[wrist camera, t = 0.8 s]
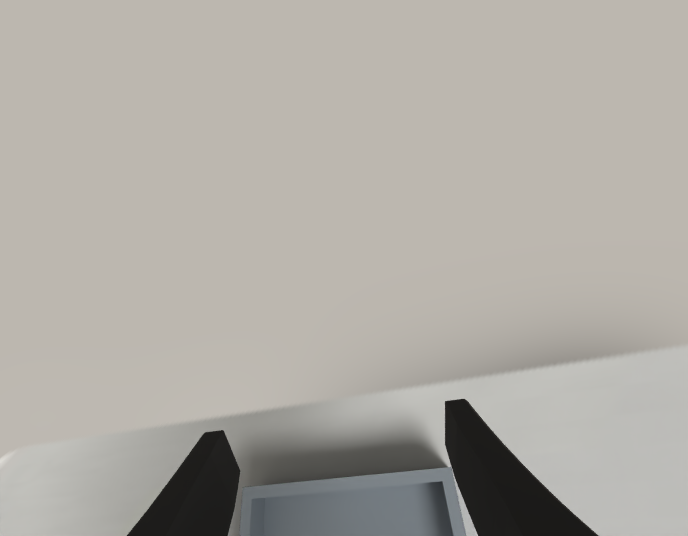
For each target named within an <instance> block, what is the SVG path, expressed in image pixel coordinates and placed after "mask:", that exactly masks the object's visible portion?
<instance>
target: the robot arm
mask: <svg viewBox="0 0 688 536" xmlns="http://www.w3.org/2000/svg"><path fill="white" fill-rule="evenodd" d="M445 445H446V449H447V452H448V456H449V459H450V463H451V466H452V469H453V472H454V476H455V479H456V482H457V484H458V487H459V489H460V492H461V494H462V497H463V499H464V502H465V504H466V507H467V509H468V512H469V514H470V517H471V519H472V522H473V524H474V527H475V529H476V531H477V534H478V536H598V535H597V534H596V533H595V532H594V531H592V530H591V529H590V528H589V527H588V526H587V525H586V524H585V523H583V522H582V521H581V520H580V519H579V518H578V517H577V516H576V515H574V514H573V513H572V512H571V511H570V510H569V509H568V508H567V507H566V506H565V505H564V504H562V503H561V502H560V501H559V500H558V499H557V498H556V497H555V496H554V495H553V494H552V493H551V492H550V491H549V490H548V489H547V488H546V487H545V486H544V485H543V484H542V483H541V482H540V481H539V480H538V479H537V478H536V477H535V476H534V475H533V474H532V473H531V472H530V471H529V470H528V469H527V468H526V467H525V466H524V465H523V464H522V463H521V462H520V461H519V460H518V459H517V458H516V457H515V456H514V454H513V453H512V452H511V451H510V450H509V449H508V448H507V447H506V446H505V445H504V444H503V443H502V441H501V440H500V439H499V438H498V437H497V436H496V435H495V434H494V432H493V431H492V430H491V429H490V428H489V427H488V426H487V424H486V423H485V422H484V421H483V420H482V418H481V417H480V416H479V415H478V414H477V412H476V411H475V410H474V409H473V407H472V406H471V405H470V404H469V402H468V401H467V400H465V399H459V400H451V401H445ZM239 476H240V469H239V467H238V464H237V462H236V459H235V457H234V455H233V452H232V450H231V447H230V445H229V443H228V440H227V438H226V435H225V433H224V431H223V430H221V431H213V432H205V433H204V434H203V436H202V437H201V438H200V440H199V441H198V442H197V444H196V445H195V446H194V448H193V449H192V451H191V452H190V453H189V455H188V456H187V457H186V459H185V460H184V462H183V463H182V464H181V466H180V467H179V469H178V470H177V471H176V473H175V474H174V475H173V477H172V478H171V479H170V481H169V482H168V483H167V485H166V486H165V487H164V489H163V490H162V491H161V493H160V494H159V495H158V497H157V498H156V499H155V501H154V502H153V503H152V505H151V506H150V507H149V509H148V510H147V511H146V513H145V514H144V515H143V516H142V518H141V519H140V520H139V521H138V523H137V524H136V525H135V526H134V527H133V529H132V530H131V531H130V532H129V534H128V535H127V536H227V535H228V532H229V528H230V524H231V520H232V516H233V512H234V508H235V502H236V496H237V490H238V483H239Z"/></svg>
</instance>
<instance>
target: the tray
mask: <svg viewBox="0 0 688 536" xmlns="http://www.w3.org/2000/svg"><path fill="white" fill-rule="evenodd" d="M239 536H466V532H465V528H464V523H463V519H462V514H461V510H460V505H459V501H458V496H457V491H456V487H455V482H454V478H453V473H452V469H451V467H445V468H435V469H425V470H414V471H404V472H394V473H384V474H373V475H363V476H353V477H343V478H332V479H322V480H312V481H302V482H291V483H281V484H271V485H261V486H250V487H243V491H242V505H241V519H240V533H239Z"/></svg>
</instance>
